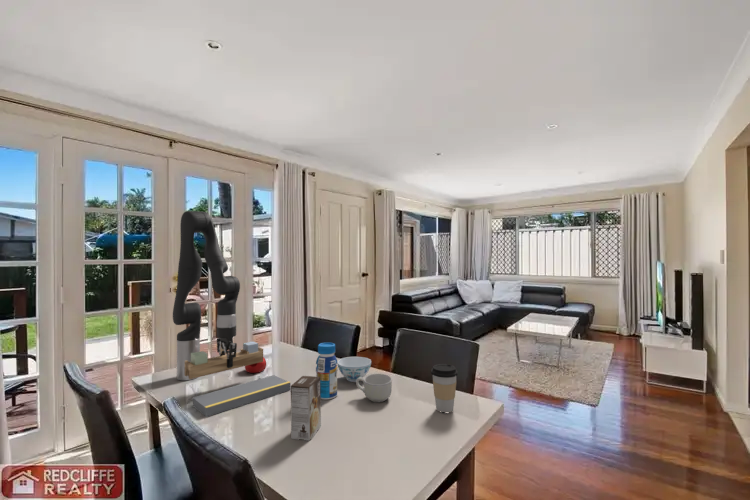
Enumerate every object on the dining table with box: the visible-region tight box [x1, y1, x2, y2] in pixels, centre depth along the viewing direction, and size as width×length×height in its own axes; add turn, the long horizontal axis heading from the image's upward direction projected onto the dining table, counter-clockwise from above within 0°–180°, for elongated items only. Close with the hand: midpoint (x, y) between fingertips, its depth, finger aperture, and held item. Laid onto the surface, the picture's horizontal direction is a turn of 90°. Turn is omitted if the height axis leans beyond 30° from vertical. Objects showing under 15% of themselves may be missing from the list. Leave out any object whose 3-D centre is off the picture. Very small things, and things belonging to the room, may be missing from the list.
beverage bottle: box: [315, 342, 339, 401], centre depth 139 cm, size 8×8×20 cm
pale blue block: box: [242, 341, 259, 354], centre depth 155 cm, size 5×5×4 cm
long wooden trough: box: [185, 346, 264, 380], centre depth 147 cm, size 6×30×6 cm, turn 136°
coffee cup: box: [430, 363, 459, 413], centre depth 126 cm, size 9×9×15 cm
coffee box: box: [290, 375, 322, 441], centre depth 110 cm, size 9×6×16 cm
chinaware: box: [336, 356, 372, 383], centre depth 157 cm, size 15×15×8 cm
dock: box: [192, 374, 291, 418], centre depth 138 cm, size 13×33×3 cm, turn 136°
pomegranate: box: [244, 353, 267, 374], centre depth 169 cm, size 10×10×9 cm
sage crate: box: [191, 350, 209, 365], centre depth 139 cm, size 5×5×4 cm
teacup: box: [355, 373, 393, 403], centre depth 136 cm, size 14×11×8 cm
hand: (226, 365), depth 147 cm, fingers closed on long wooden trough, 6 cm apart
